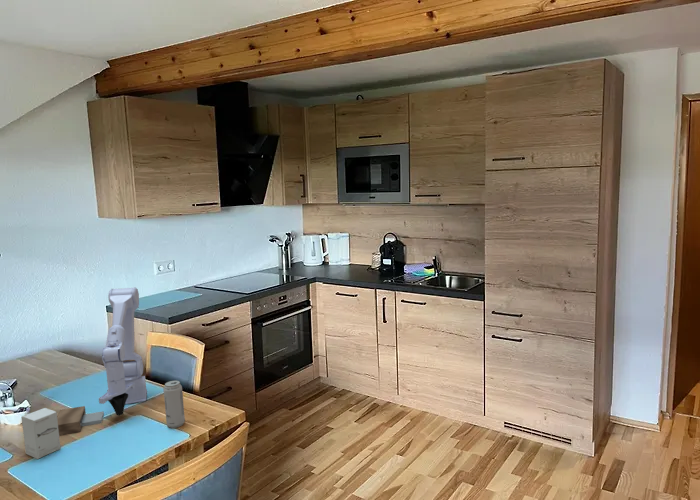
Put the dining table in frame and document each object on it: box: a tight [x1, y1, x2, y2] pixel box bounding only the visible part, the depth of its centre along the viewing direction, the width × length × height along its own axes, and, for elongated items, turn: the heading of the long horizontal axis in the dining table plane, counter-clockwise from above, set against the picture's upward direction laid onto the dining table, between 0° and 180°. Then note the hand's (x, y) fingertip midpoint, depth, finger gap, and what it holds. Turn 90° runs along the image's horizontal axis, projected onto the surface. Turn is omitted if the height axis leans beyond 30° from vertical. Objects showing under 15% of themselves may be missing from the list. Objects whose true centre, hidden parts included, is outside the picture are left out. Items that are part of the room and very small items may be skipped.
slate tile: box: [80, 410, 105, 428], centre depth 183 cm, size 12×8×2 cm, turn 110°
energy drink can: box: [163, 380, 186, 429], centre depth 177 cm, size 6×6×15 cm
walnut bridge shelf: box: [57, 405, 87, 436], centre depth 180 cm, size 8×14×4 cm, turn 20°
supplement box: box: [21, 407, 61, 460], centre depth 162 cm, size 7×7×13 cm
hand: (119, 414), depth 186 cm, fingers closed
